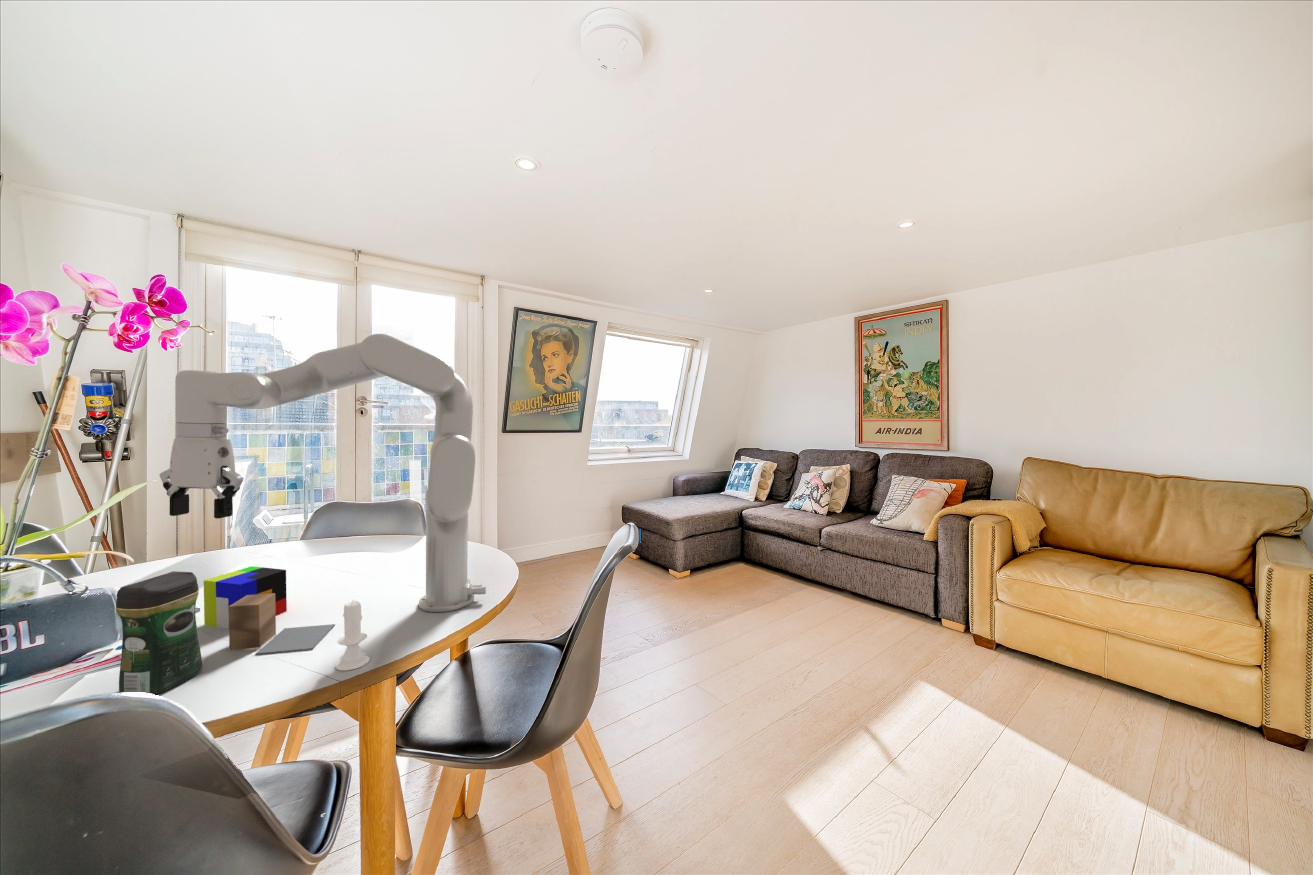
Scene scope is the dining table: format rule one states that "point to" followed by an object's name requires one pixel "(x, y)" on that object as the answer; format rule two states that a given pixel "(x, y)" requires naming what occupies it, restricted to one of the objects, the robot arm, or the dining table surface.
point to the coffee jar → (158, 632)
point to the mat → (296, 639)
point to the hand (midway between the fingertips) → (201, 515)
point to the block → (252, 622)
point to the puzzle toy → (241, 592)
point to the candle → (352, 639)
